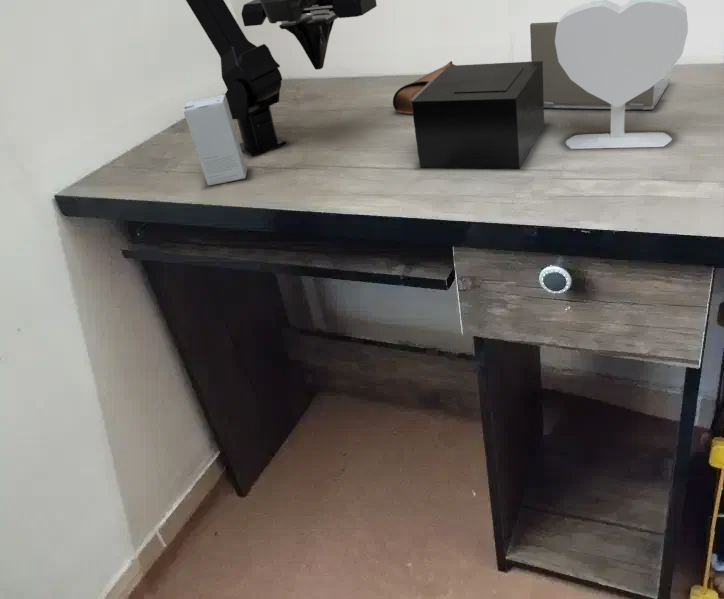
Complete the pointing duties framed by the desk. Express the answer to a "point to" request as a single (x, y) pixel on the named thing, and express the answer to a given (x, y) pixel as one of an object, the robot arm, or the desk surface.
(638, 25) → the heart sculpture
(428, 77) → the sunglasses case
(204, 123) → the cosmetic box
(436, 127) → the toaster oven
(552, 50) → the laptop
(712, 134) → the desk surface
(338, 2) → the robot arm
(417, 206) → the desk surface
